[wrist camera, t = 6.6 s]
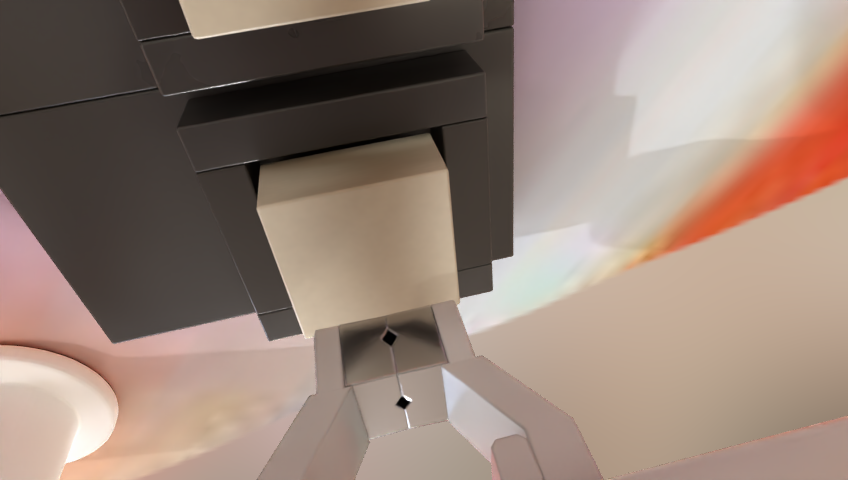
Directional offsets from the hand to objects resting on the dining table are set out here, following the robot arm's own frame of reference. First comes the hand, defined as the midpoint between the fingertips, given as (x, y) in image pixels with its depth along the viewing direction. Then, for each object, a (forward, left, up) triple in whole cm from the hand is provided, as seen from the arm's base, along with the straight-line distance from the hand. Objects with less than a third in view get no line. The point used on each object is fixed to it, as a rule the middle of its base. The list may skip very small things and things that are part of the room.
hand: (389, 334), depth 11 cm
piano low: (-2, 0, -8) cm, 8 cm away
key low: (0, 0, -5) cm, 4 cm away
